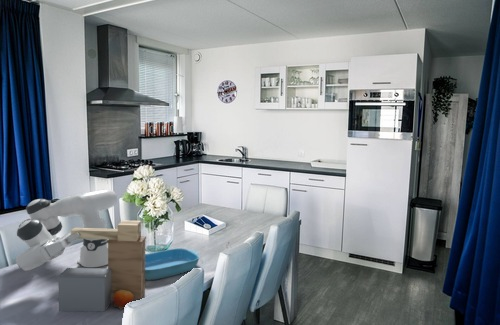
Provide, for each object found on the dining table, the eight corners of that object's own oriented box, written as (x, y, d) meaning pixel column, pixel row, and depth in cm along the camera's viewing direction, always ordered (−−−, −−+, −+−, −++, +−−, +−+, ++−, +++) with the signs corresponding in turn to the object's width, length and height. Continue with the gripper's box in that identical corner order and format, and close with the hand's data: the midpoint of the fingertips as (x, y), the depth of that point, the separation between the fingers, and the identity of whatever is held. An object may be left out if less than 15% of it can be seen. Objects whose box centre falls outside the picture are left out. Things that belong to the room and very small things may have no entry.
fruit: (105, 307, 146) (112, 286, 149) (116, 308, 153) (123, 289, 156) (121, 311, 143) (128, 290, 146) (132, 313, 150) (138, 293, 153)
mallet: (76, 234, 159) (76, 219, 158) (140, 236, 160) (141, 220, 160) (69, 239, 152) (69, 223, 151) (136, 241, 153) (136, 225, 153)
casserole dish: (185, 256, 209) (186, 244, 208) (207, 269, 192) (207, 256, 191) (122, 271, 185) (122, 258, 184) (140, 287, 168) (140, 272, 167)
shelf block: (113, 291, 163) (113, 235, 160) (145, 292, 163) (146, 236, 161) (107, 299, 155) (107, 240, 152) (141, 299, 156) (141, 241, 153)
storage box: (67, 300, 153) (67, 267, 151) (111, 301, 154) (111, 268, 152) (58, 310, 144) (57, 276, 143) (104, 311, 145) (104, 277, 144)
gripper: (68, 245, 166) (94, 231, 166) (45, 262, 146) (75, 246, 146) (60, 233, 165) (87, 219, 165) (37, 249, 145) (67, 233, 145)
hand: (81, 232), depth 155 cm, fingers closed on mallet, 4 cm apart
